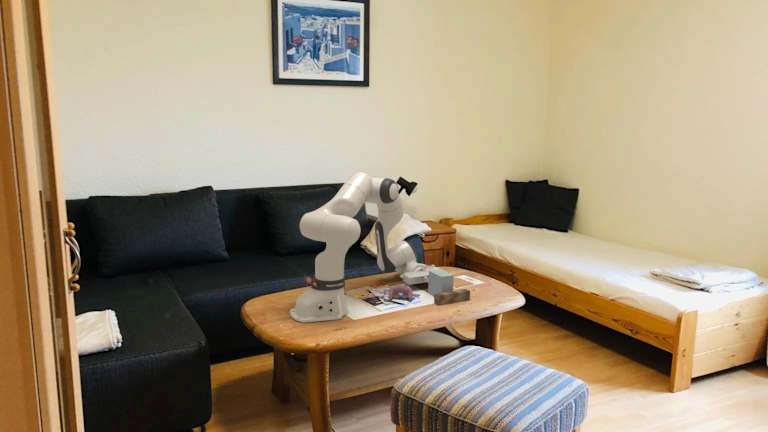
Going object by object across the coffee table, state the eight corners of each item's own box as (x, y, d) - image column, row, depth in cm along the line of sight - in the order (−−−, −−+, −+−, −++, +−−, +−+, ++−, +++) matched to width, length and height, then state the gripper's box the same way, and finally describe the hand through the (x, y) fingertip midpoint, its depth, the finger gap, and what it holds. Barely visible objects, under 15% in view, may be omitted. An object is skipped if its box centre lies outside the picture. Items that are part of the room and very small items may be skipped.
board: (438, 305, 234) (438, 296, 233) (434, 303, 236) (434, 293, 236) (469, 299, 241) (470, 290, 241) (465, 297, 244) (465, 288, 243)
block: (441, 299, 241) (441, 276, 239) (428, 292, 249) (428, 270, 248) (452, 297, 244) (453, 275, 242) (439, 291, 252) (440, 269, 250)
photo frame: (485, 282, 264) (456, 288, 254) (485, 284, 265) (456, 290, 255) (464, 274, 276) (435, 280, 266) (464, 276, 276) (435, 282, 266)
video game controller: (412, 302, 241) (413, 286, 243) (411, 301, 237) (412, 284, 239) (388, 301, 242) (389, 285, 244) (388, 299, 238) (389, 283, 240)
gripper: (397, 269, 256) (414, 277, 245) (435, 264, 266) (453, 271, 254) (397, 282, 258) (413, 291, 246) (435, 277, 267) (452, 285, 255)
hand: (434, 281), depth 250 cm, fingers closed, pressing on block
